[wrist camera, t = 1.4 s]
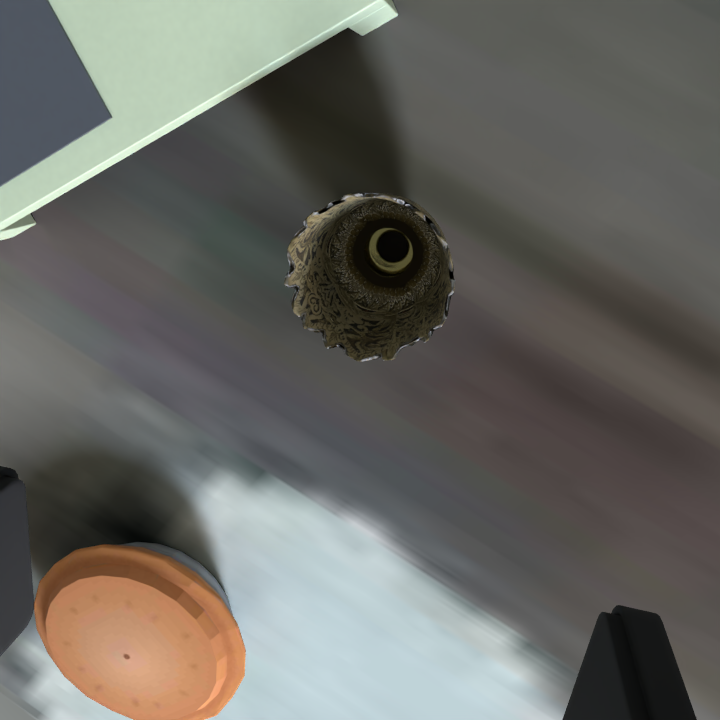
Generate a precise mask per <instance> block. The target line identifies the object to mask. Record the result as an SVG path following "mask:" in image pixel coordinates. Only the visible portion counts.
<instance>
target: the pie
mask: <svg viewBox="0 0 720 720" xmlns="http://www.w3.org/2000/svg"><path fill="white" fill-rule="evenodd" d="M34 611H35V619H36V627H37V631H38V633H39V635H40V637H41V639H42V641H43V643H44V646H45V648H46V650H47V652H48V654H49V655H50V657H51V658H52V660H53V661H54V663H55V664H56V665H57V667H58V668H59V670H60V671H61V672H62V674H63V675H64V676H65V677H66V678H67V679H68V680H69V681H70V682H71V683H72V684H73V685H75V686H76V687H77V688H78V689H79V690H80V691H81V692H82V693H84V694H85V695H86V696H87V697H89V698H91V699H92V700H94V701H96V702H98V703H99V704H101V705H103V706H105V707H107V708H108V709H110V710H112V711H114V712H117V713H119V714H121V715H124V716H126V717H129V718H131V719H134V720H205V719H208V718H211V717H214V716H216V715H217V714H218V713H219V712H220V711H221V710H222V709H223V707H224V706H225V705H226V704H227V703H228V702H229V700H230V699H231V698H232V697H233V695H234V694H235V692H236V690H237V688H238V686H239V685H240V683H241V681H242V679H243V678H244V676H245V652H246V650H245V646H244V643H243V640H242V637H241V633H240V630H239V627H238V624H237V622H236V621H235V619H234V617H233V615H232V611H231V608H230V605H229V602H228V598H227V596H226V594H225V592H224V591H223V589H222V588H221V586H220V585H219V583H218V581H217V580H216V578H215V577H214V576H213V575H212V574H211V573H210V572H209V571H207V570H206V569H205V568H204V567H203V566H202V565H201V564H200V563H199V562H197V561H196V560H194V559H193V558H191V557H189V556H188V555H186V554H184V553H183V552H181V551H179V550H176V549H173V548H170V547H167V546H164V545H161V544H157V543H146V542H133V543H127V544H121V545H110V544H102V545H97V546H92V547H87V548H82V549H77V550H75V551H73V552H72V553H70V554H69V555H67V556H66V557H64V558H63V559H61V560H60V561H58V562H57V563H55V564H54V565H53V566H52V568H51V569H50V570H49V571H48V572H47V573H46V575H45V576H44V577H43V578H42V579H41V581H40V582H39V586H38V590H37V594H36V598H35V602H34Z"/></svg>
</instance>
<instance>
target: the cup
mask: <svg viewBox="0 0 720 720" xmlns="http://www.w3.org/2000/svg"><path fill="white" fill-rule="evenodd" d="M388 232H397V233H399V234H401V235H402V236H403V237H404V238H405V239H406V241H407V246H408V248H407V253H406V255H405V256H404V257H403V258H402V259H401V260H399V261H395V262H390V261H387V260H385V259H384V258H382V256H381V255H380V254H379V251H378V242H379V239H380V238H381V237H382V236H383V235H384V234H385V233H388ZM287 256H288V261H289V263H290V268H291V269H290V271H289V272H288V273H287V275H286V276H285V285H286V286H289V287H291V288H294V287H295V288H294V289H295V291H294V293H293V296H292V300H291V303H292V309H293V311H294V313H295V314H296V315H297V316H298V317H299V316H301V320H302V321H303V327H304V328H305V329H308V330H311V331H314V332H315V333H320V332H321V333H322V336H323V339H322V340H323V342H324V344H325V347H326V348H334V347H339V348H341V349H342V350H343V351H344V352H345V354H346V355H347V356H349V357H351V358H353V359H354V360H356V361H368V360H371V359H378V358H382V360H392V359H394V358H396V357H397V356H398V353H399V352H400V350H401V349H402V348H405V347H407V346H413V345H414V344H415V343H416V342H417V341H419V340H423V342H426V341H428V340H429V339H430V337H431V336H432V334H433V331H434V330H436V329H438V328H440V327H441V326H442V325H443V324H444V322H445V320H446V318H447V315H448V310H449V304H450V299H451V295H453V293H454V288H455V280H454V276H453V270H454V268H453V262H452V258H451V254H450V251H449V247H448V245H447V242H446V239H445V237H444V234H443V232H442V231H441V229H440V227H439V225H438V224H437V223H436V221H435V220H434V219H433V217H432V216H431V215H430V214H429V213H428V212H427V211H426V210H425V209H423V208H422V207H421V206H419V205H418V204H416V203H415V202H413V201H411V200H409V199H406V198H404V197H401V196H398V195H394V194H388V193H351V194H346V195H343V198H340V199H338V200H336V201H333V202H331V203H330V204H328V205H327V206H325V207H324V208H322V209H320V210H318V211H314V212H312V213H311V214H310V215H309V216H308V217H307V218H306V219H305V221H304V226H303V227H302V228H301V229H300V230H299V231H298V232H297V233H296V234H295V236H294V237H293V239H292V240H291V242H290V244H289V247H288V250H287Z"/></svg>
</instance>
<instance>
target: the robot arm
mask: <svg viewBox="0 0 720 720" xmlns="http://www.w3.org/2000/svg"><path fill="white" fill-rule="evenodd" d="M33 610H34V596H33V583H32V570H31V557H30V543H29V530H28V517H27V503H26V490H25V485H24V483H23V481H21V480H19V478H18V474H17V473H16V471H15V470H13V469H11V468H7V467H2V466H0V656H1V655H2V654H3V653H4V652H5V650H6V649H7V648H8V647H9V646H10V645H11V644H12V643H13V641H14V640H15V639H16V638H17V637H18V636H19V635H20V634H21V633H22V631H23V630H24V629H25V628H26V626H27V625H28V623H29V621H30V619H31V617H32V614H33ZM563 720H697V719H696V716H695V714H694V711H693V708H692V705H691V702H690V699H689V696H688V694H687V691H686V688H685V685H684V682H683V679H682V677H681V674H680V671H679V668H678V665H677V662H676V659H675V657H674V654H673V651H672V648H671V645H670V642H669V639H668V637H667V634H666V631H665V628H664V625H663V622H662V620H661V618H660V616H659V615H657V614H656V613H652V612H647V611H643V610H638V609H634V608H629V607H625V606H620V605H618V606H616V607H615V608H614V609H613V611H612V613H611V614H610V613H606V612H601V614H600V615H599V617H598V619H597V622H596V625H595V628H594V631H593V633H592V636H591V639H590V642H589V645H588V648H587V651H586V654H585V657H584V659H583V662H582V665H581V668H580V671H579V674H578V677H577V680H576V683H575V685H574V688H573V691H572V694H571V697H570V700H569V703H568V706H567V708H566V711H565V714H564V717H563Z"/></svg>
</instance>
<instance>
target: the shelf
mask: <svg viewBox="0 0 720 720" xmlns="http://www.w3.org/2000/svg"><path fill="white" fill-rule="evenodd" d="M396 16H398V13H397V11H396V8H395V6H394V3H393V1H392V0H0V240H4V239H8V238H11V237H14V236H16V235H18V234H19V233H21V232H23V231H25V230H26V229H28V228H30V227H31V226H33V225H35V224H36V222H35V221H34V219H33V217H32V216H31V214H30V213H31V212H33V211H35V210H37V209H38V208H40V207H42V206H43V205H45V204H47V203H49V202H50V201H52V200H54V199H55V198H57V197H59V196H61V195H62V194H64V193H66V192H67V191H69V190H71V189H72V188H74V187H76V186H78V185H79V184H81V183H83V182H84V181H86V180H88V179H90V178H91V177H93V176H95V175H96V174H98V173H100V172H102V171H103V170H105V169H107V168H108V167H110V166H112V165H114V164H115V163H117V162H119V161H120V160H122V159H124V158H125V157H127V156H129V155H131V154H132V153H134V152H136V151H137V150H139V149H141V148H143V147H144V146H146V145H148V144H149V143H151V142H153V141H155V140H156V139H158V138H160V137H161V136H163V135H165V134H167V133H168V132H170V131H172V130H173V129H175V128H177V127H178V126H180V125H182V124H184V123H185V122H187V121H189V120H190V119H192V118H194V117H196V116H197V115H199V114H201V113H202V112H204V111H206V110H208V109H209V108H211V107H213V106H214V105H216V104H218V103H220V102H221V101H223V100H225V99H226V98H228V97H230V96H231V95H233V94H235V93H237V92H238V91H240V90H242V89H243V88H245V87H247V86H249V85H250V84H252V83H254V82H255V81H257V80H259V79H261V78H262V77H264V76H266V75H267V74H269V73H271V72H272V71H274V70H276V69H278V68H279V67H281V66H283V65H284V64H286V63H288V62H290V61H291V60H293V59H295V58H296V57H298V56H300V55H302V54H303V53H305V52H307V51H308V50H310V49H312V48H314V47H315V46H317V45H319V44H320V43H322V42H324V41H325V40H327V39H329V38H331V37H332V36H334V35H336V34H337V33H339V32H341V31H343V30H344V29H346V28H350V29H351V30H353V31H355V32H356V33H358V34H360V35H361V36H363V35H365V34H367V33H369V32H370V31H372V30H374V29H376V28H377V27H379V26H381V25H382V24H384V23H386V22H388V21H389V20H391V19H393V18H395V17H396Z"/></svg>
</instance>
